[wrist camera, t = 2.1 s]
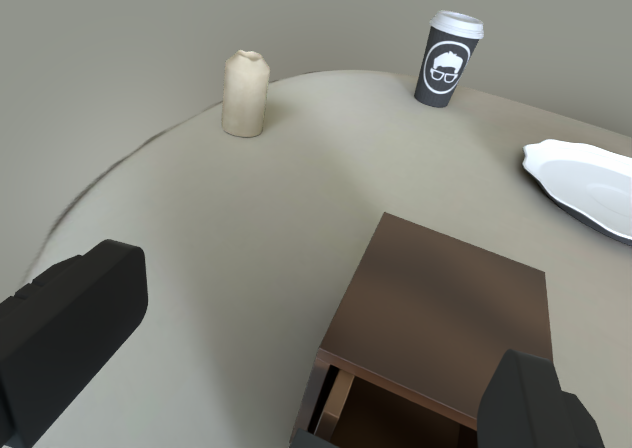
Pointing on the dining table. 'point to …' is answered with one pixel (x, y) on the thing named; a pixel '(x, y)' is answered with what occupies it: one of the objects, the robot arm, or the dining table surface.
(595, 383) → the dining table surface
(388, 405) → the drawer
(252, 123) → the candle
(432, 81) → the coffee cup
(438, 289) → the cabinet
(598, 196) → the plate
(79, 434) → the dining table surface
